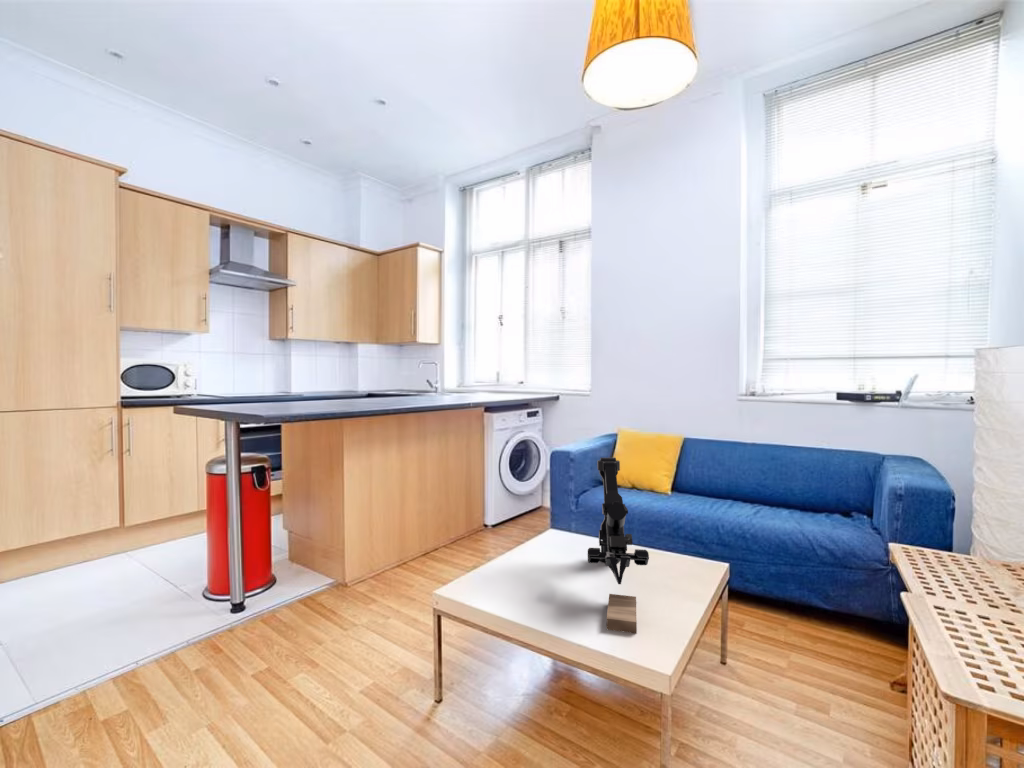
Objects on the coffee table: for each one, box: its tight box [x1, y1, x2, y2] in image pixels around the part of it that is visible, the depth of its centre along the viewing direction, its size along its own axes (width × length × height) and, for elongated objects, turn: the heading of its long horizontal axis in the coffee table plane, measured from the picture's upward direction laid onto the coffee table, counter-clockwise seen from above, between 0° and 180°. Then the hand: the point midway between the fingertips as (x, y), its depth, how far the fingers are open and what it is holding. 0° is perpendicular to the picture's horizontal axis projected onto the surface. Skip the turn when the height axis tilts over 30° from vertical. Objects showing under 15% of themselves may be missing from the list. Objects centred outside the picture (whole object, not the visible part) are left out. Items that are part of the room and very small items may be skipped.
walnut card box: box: [606, 593, 638, 634], centre depth 129 cm, size 4×8×15 cm
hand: (619, 583), depth 135 cm, fingers closed
